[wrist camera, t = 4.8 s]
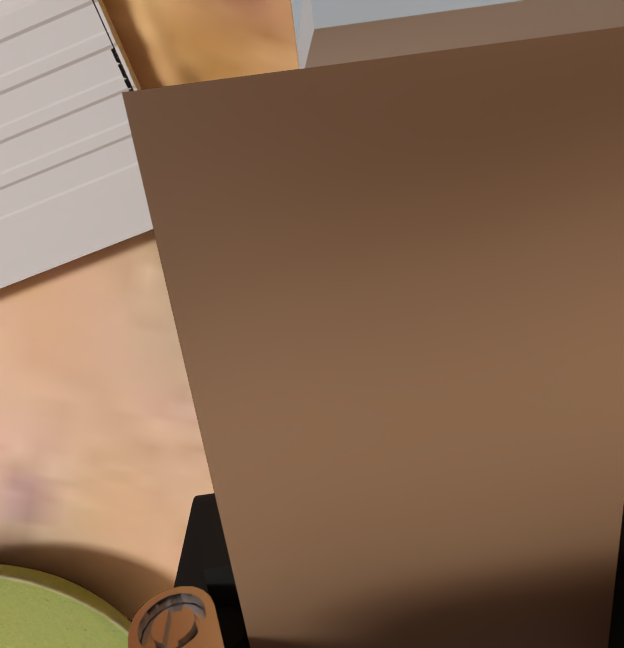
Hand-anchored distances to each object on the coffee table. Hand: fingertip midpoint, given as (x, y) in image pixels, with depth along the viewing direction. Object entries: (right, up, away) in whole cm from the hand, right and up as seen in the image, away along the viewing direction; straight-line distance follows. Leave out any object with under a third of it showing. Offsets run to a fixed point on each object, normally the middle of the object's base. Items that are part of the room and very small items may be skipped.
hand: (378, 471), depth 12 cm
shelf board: (0, 0, +1) cm, 1 cm away
